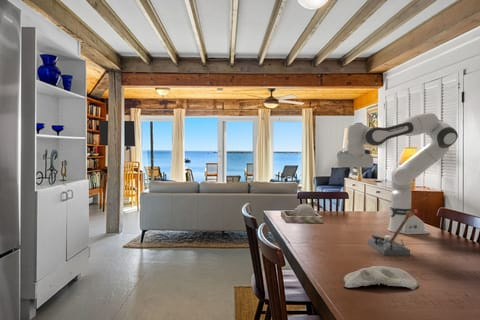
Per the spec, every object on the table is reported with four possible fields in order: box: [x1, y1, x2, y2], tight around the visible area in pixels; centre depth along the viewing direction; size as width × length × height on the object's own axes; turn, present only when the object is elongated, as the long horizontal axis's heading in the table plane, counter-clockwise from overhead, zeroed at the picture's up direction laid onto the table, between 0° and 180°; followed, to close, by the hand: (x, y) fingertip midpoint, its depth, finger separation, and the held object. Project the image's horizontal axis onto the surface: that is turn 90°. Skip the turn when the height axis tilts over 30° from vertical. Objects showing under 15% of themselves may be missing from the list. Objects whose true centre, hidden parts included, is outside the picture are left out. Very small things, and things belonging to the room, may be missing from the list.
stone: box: [343, 265, 419, 290], centre depth 131 cm, size 28×7×15 cm
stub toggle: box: [400, 239, 407, 249], centre depth 168 cm, size 1×2×4 cm, turn 148°
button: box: [384, 235, 393, 242], centre depth 182 cm, size 3×3×2 cm
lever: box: [389, 211, 413, 246], centre depth 169 cm, size 3×4×20 cm
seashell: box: [293, 203, 316, 216], centre depth 254 cm, size 15×14×15 cm
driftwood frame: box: [280, 210, 323, 224], centre depth 253 cm, size 24×24×4 cm
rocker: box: [371, 234, 385, 241], centre depth 182 cm, size 5×3×1 cm, turn 91°
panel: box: [367, 238, 411, 256], centre depth 176 cm, size 12×20×5 cm, turn 1°
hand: (354, 175), depth 207 cm, fingers closed
